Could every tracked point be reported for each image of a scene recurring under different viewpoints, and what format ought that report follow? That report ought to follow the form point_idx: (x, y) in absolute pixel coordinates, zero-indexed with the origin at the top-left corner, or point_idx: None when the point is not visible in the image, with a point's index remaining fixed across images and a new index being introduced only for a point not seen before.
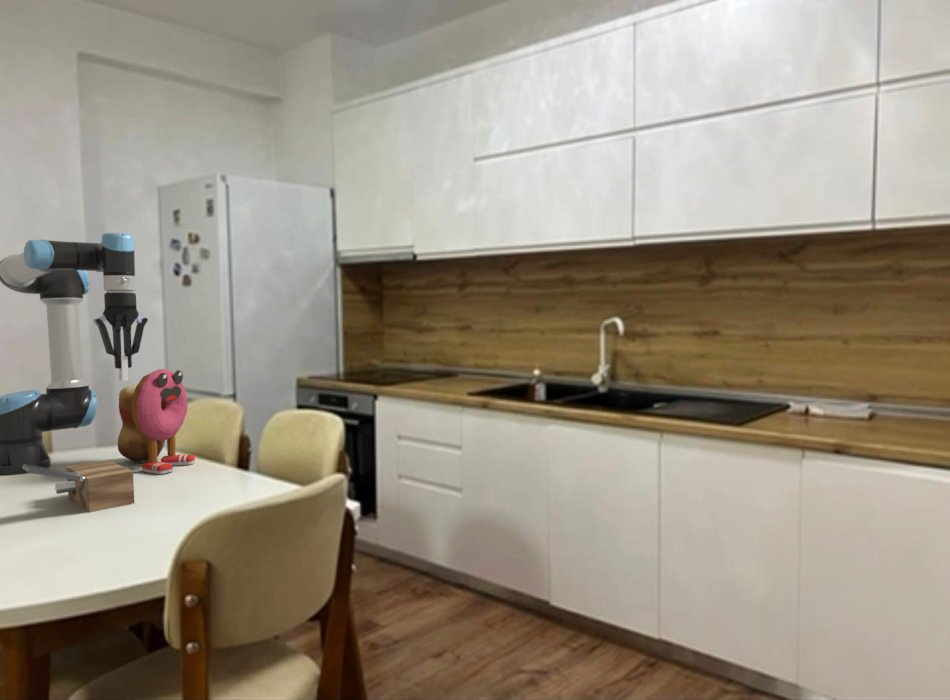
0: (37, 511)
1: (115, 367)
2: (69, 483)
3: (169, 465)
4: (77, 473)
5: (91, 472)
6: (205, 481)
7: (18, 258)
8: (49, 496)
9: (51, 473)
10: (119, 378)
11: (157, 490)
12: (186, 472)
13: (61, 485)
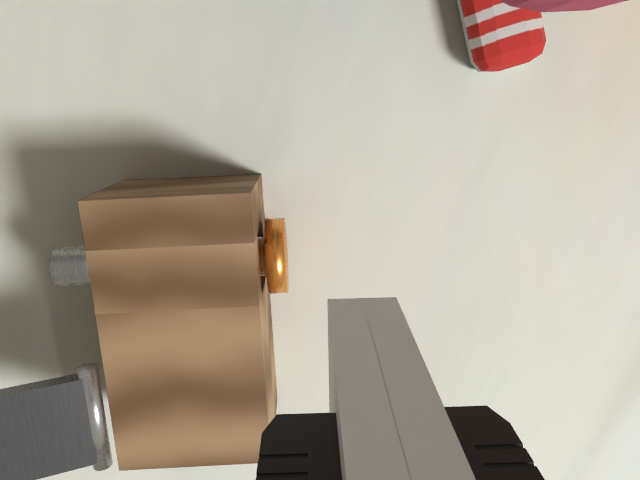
0: (21, 289)
1: (272, 423)
2: None
3: (528, 58)
4: (91, 401)
5: (145, 378)
6: (547, 292)
7: None
8: (68, 110)
9: None
10: (328, 315)
11: (381, 297)
12: (567, 98)
13: (68, 283)
